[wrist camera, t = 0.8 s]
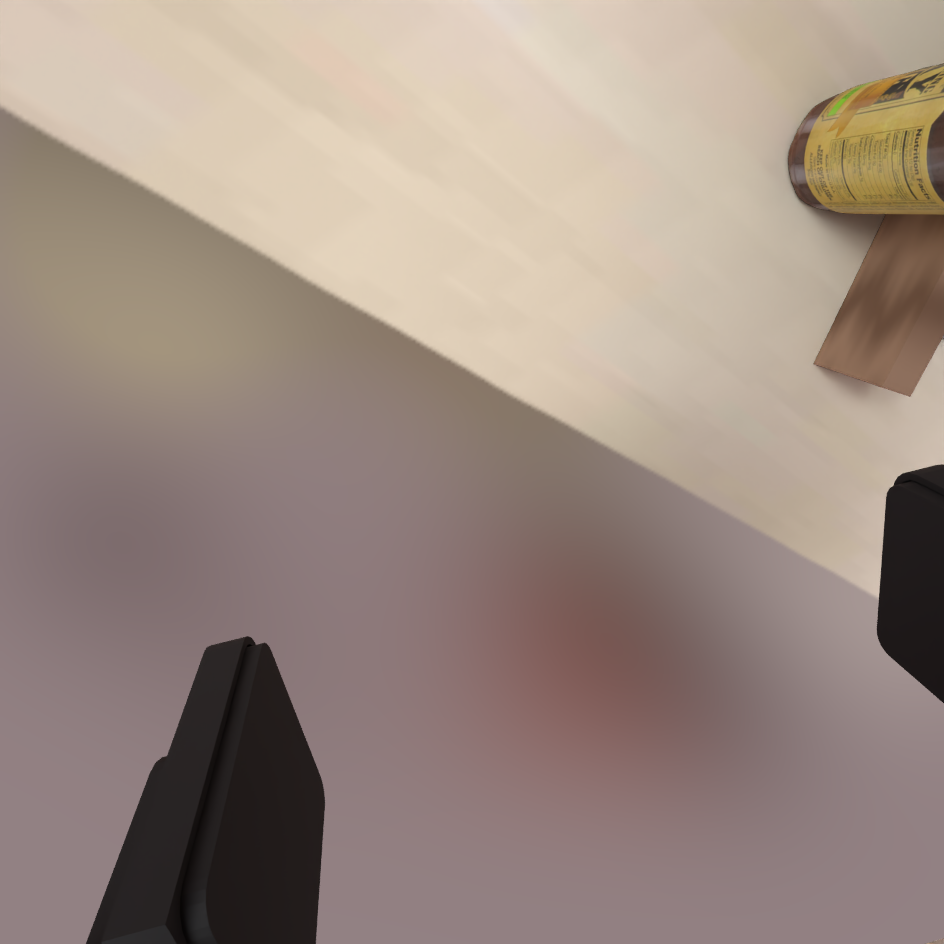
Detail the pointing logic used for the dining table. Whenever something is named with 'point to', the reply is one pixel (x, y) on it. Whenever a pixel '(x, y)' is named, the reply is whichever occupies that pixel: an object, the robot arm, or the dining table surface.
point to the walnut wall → (892, 306)
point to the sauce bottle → (875, 148)
